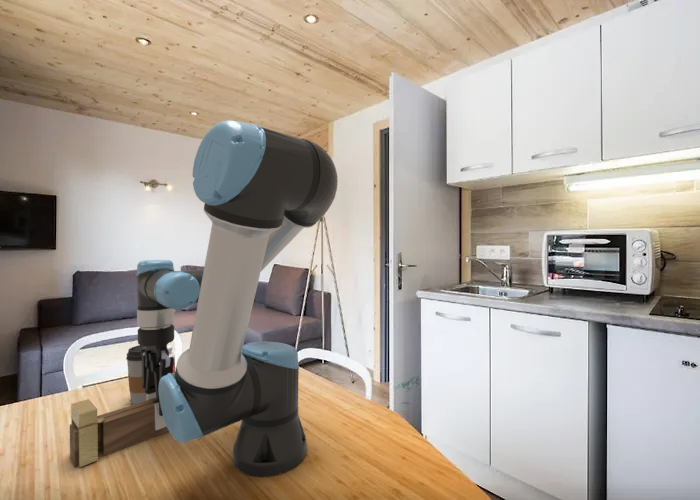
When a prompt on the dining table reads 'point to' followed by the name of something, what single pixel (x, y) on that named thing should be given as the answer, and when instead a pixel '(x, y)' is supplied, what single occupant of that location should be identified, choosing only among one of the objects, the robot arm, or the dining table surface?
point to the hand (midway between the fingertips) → (157, 423)
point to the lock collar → (86, 430)
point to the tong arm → (128, 428)
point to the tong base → (74, 430)
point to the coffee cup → (135, 375)
